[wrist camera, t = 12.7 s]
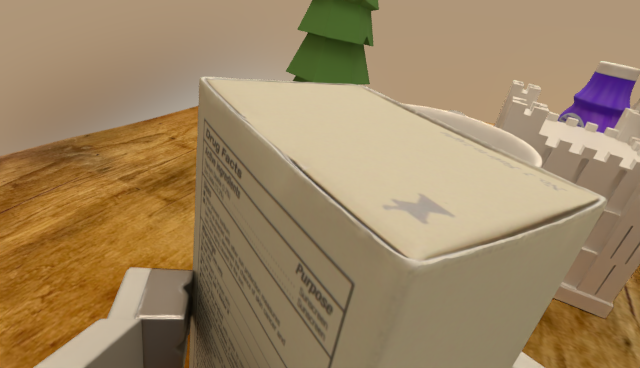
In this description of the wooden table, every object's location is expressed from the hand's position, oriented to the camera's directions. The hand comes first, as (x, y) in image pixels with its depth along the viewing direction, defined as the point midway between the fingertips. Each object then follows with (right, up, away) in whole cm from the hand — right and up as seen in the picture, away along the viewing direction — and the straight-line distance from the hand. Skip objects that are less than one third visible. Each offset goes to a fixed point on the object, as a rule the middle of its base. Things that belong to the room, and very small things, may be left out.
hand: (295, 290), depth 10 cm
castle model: (+21, -4, +28) cm, 35 cm away
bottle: (+31, +1, +41) cm, 51 cm away
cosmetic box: (-1, -7, +2) cm, 7 cm away
